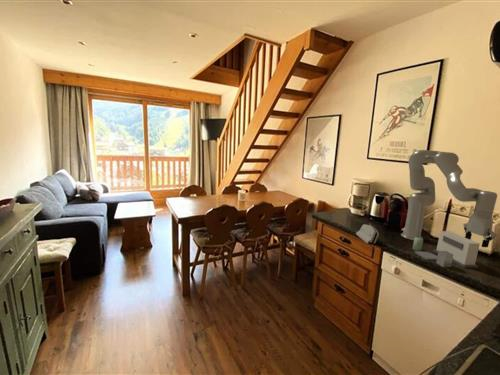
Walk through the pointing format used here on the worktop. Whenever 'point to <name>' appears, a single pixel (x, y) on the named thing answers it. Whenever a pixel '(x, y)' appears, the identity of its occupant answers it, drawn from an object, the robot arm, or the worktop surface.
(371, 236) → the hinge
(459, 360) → the worktop surface
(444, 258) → the metal block
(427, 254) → the slate mat
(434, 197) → the robot arm
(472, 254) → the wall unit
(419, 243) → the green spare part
